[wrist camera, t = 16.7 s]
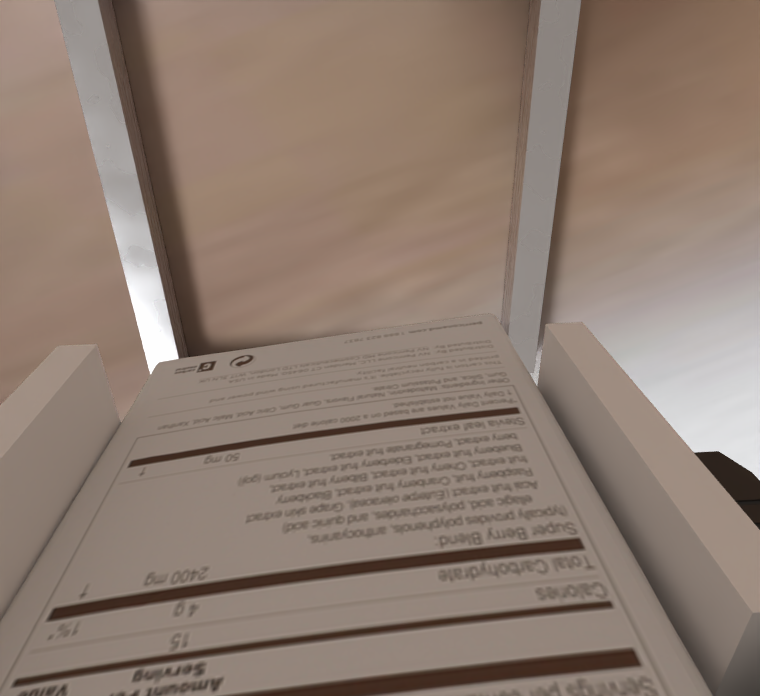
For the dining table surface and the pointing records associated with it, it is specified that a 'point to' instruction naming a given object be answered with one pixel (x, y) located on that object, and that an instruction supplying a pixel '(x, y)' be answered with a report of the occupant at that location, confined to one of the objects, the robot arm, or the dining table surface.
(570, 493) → the supplement box
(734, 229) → the dining table surface
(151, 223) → the gray rectangular frame
